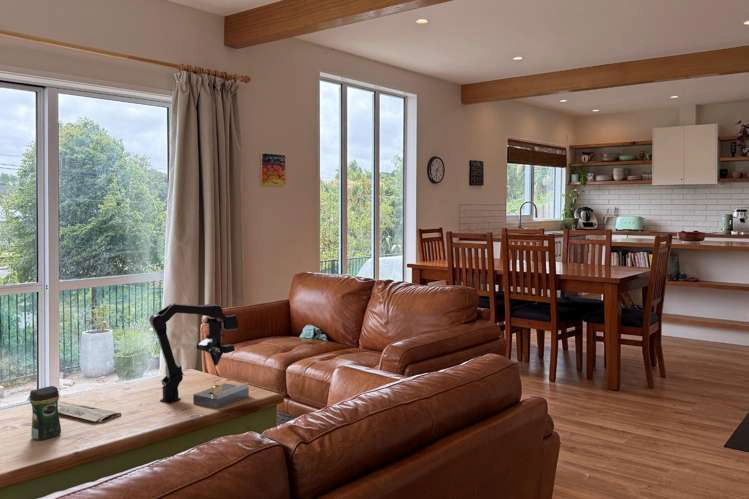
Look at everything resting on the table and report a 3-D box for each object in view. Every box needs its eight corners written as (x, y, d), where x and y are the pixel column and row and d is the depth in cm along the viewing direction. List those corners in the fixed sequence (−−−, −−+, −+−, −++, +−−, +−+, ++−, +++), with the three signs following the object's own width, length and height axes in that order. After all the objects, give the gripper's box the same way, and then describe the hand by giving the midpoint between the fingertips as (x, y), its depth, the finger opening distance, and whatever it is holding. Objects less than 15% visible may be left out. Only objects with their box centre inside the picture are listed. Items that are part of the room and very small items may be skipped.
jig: (193, 403, 279) (193, 389, 279) (225, 391, 296) (225, 378, 296) (217, 408, 272) (217, 394, 272) (248, 396, 290) (248, 383, 289)
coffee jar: (54, 430, 246) (52, 383, 245) (64, 435, 241) (62, 386, 240) (28, 437, 239) (26, 388, 237) (37, 442, 234) (35, 392, 233)
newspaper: (121, 416, 264) (121, 408, 263) (96, 426, 252) (96, 417, 252) (61, 405, 278) (61, 397, 278) (35, 413, 267) (35, 405, 267)
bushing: (209, 402, 281) (209, 386, 280) (216, 399, 285) (216, 383, 284) (217, 403, 279) (216, 387, 278) (224, 401, 282) (223, 385, 282)
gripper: (187, 333, 289) (187, 366, 291) (217, 337, 280) (218, 372, 281) (205, 328, 299) (205, 361, 300) (235, 332, 290) (235, 366, 291)
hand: (215, 365), depth 293 cm, fingers closed
